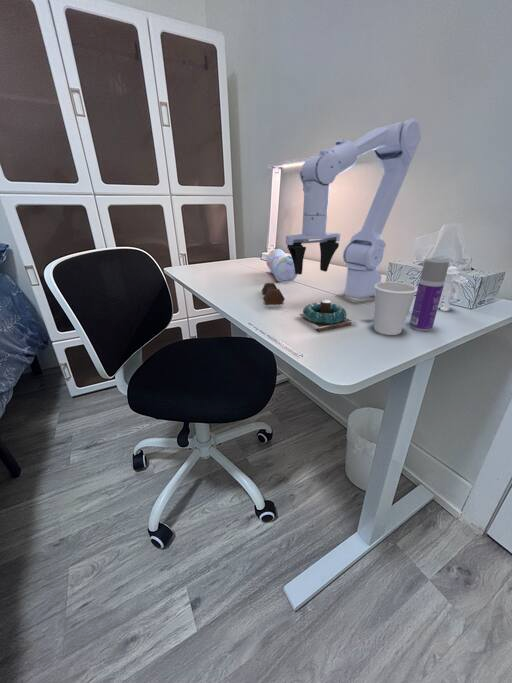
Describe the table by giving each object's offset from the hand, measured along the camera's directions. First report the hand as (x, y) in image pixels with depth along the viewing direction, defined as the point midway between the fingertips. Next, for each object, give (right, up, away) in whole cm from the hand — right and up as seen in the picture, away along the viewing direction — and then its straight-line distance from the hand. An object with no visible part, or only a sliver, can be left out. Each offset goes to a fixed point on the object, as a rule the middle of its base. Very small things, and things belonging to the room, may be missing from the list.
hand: (311, 272), depth 75 cm
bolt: (-10, -6, +11) cm, 16 cm away
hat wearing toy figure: (+35, -9, +3) cm, 37 cm away
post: (+2, -13, -5) cm, 14 cm away
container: (+23, -15, -8) cm, 29 cm away
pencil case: (-5, +7, +38) cm, 39 cm away
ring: (+2, -11, -6) cm, 13 cm away
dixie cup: (+15, -15, -9) cm, 24 cm away
